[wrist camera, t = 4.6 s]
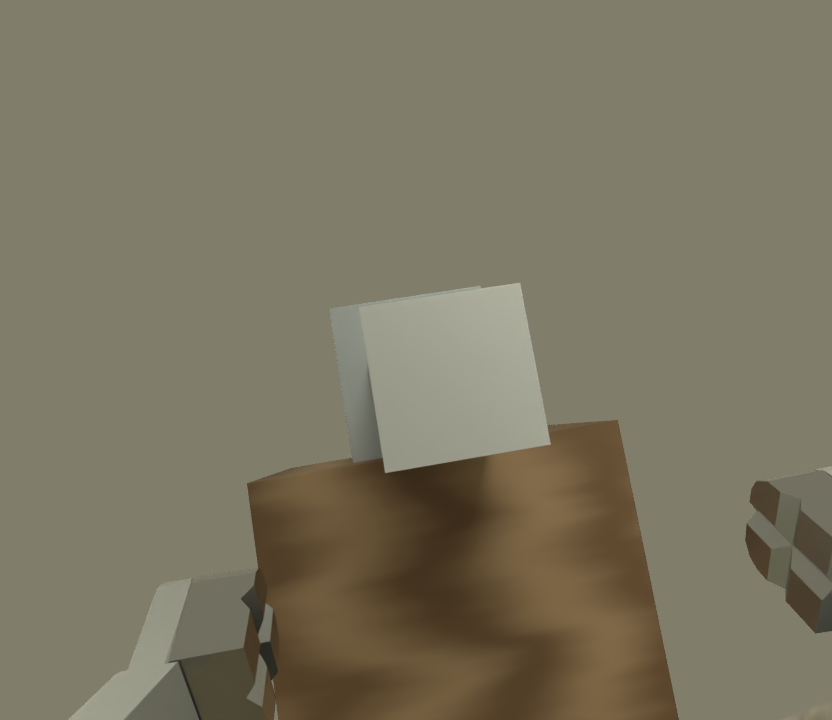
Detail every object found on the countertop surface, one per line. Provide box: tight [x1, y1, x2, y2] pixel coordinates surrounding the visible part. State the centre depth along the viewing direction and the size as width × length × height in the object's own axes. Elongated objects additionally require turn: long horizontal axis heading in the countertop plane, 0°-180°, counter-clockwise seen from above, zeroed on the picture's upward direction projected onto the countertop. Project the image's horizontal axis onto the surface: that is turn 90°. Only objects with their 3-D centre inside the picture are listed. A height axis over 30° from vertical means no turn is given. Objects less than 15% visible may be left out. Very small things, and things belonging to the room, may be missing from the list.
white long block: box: [329, 283, 551, 473], centre depth 23 cm, size 17×6×6 cm, turn 4°
